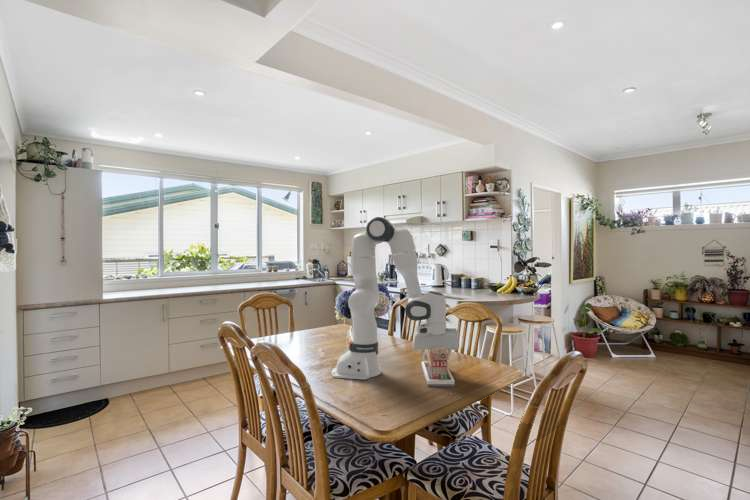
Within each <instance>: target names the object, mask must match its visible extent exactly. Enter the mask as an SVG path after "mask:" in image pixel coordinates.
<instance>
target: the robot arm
mask: <svg viewBox="0 0 750 500" xmlns="http://www.w3.org/2000/svg"><path fill="white" fill-rule="evenodd" d="M365 228H366V229H365V232H361V233H357V234H355V235H354V237H352V242H351V249H350V250H351V254H350V255H351V258H350V259H351V276H352V279H353V281H354V287H355V290H353V292H351V294H350V295H349V297H348V300H347V305H348V309H349V310H350V311H349V312H350V317H351V321H352V340H349V341H348V350H347V351H345V353H343V354H342V355H341V356H340V357H338V359H337V362H336V365H335V367H334V368H332V370H331V376H332V377H333V378H337V379H353V380H363V381H364V380H368V379H371V378H373V377H377V376H379V375H381V373H382V371H381V366H380V362H379V351H380V350H379V341H378V323H377V321H376V315H375V308H376V307H377V306H378V304H379V302H380V299H381V295H380V291H379V290H380V288H379V283H378V278H377V272H376V271H377V268H376V266H377V263H376V262H377V261H376V247H377V245H378V244H381V243H386V244H388V246H389V249H390V252H391V253H390V254H391V257H392V258H391V259H392V262H393V264H394V266H395V268H396V271H398V272H399V274H400V275H401V276H402V278H403V280H404V282H405V283H404V284H405V287H406V293H407V296H408V297H407V303H406V305H405V308H404V311H405V315H406V317H407V318H408V319H409V320H410V321H415V322H417V321H423V320H425V323H422V324H419V325H416V327H415V330H416V331H415V332H414V335H413V341H412V347H413V349H415V350H420V352H421V354H422V355H423V357H422V358H423V360H428V355H427V354H425V350H426V351H428V350H431V347H445V349H446V351H447V361H448V360H449V356H450V355H451V353H452V351H458V350H459V348H460V340H459V338H460V336H461V335H460V330H458V329H457V328H454V327H453V328H450V327H449V328H448V327H447V318H446V315H447V300H446V297H445V295H444V294H443V293H441V292H440V291H433V290H431V291H430V290H429V291H427V292H426V293H424V294H423V293H422V290H421V286H420V282H419V279H418V254H417V250H416V245H415V242H414V239H413V236H412V235H411V232H410V231H409V229H406V228H402V227H399V228H394V226H393V224H392V222H390V220H388V219H387V218H385V217H382V216H376V217H373V218H371V219H370V220H369V221H368V222H367V223H366V227H365Z"/></svg>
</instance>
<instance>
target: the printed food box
mask: <svg viewBox="0 0 750 500" xmlns="http://www.w3.org/2000/svg"><path fill="white" fill-rule="evenodd" d="M427 353H428V355H427V359H428V361H429V369H430V372H431V377H432V380H447V367H448V360H447V353H448V351H447V350H446V349H445V347H431V350H427Z"/></svg>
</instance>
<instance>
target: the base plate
mask: <svg viewBox="0 0 750 500" xmlns="http://www.w3.org/2000/svg"><path fill="white" fill-rule="evenodd" d="M421 369H422V373H423V376H424V379H425V383H426V385H427V387H435V388H436V387H437V388H438V387H439V388H441V387H442V388H444V387H445V388H448V387H450V388H454V387H456V385H455V382H456V381H455V380H456V379H454V377H453V374H452V372H451V371H450V368H449V366H447V380H432V377H431V372H430V369H429V360H428V361H427V360H423V361H421Z"/></svg>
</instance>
